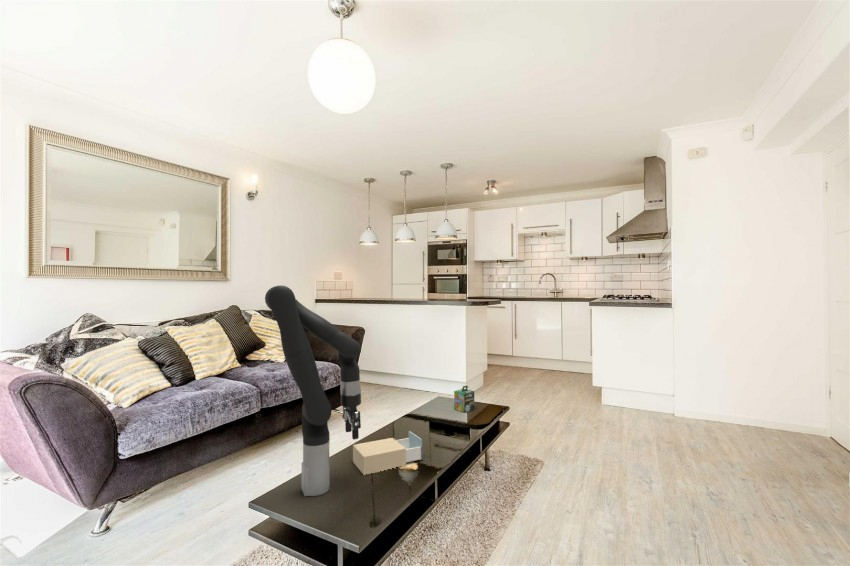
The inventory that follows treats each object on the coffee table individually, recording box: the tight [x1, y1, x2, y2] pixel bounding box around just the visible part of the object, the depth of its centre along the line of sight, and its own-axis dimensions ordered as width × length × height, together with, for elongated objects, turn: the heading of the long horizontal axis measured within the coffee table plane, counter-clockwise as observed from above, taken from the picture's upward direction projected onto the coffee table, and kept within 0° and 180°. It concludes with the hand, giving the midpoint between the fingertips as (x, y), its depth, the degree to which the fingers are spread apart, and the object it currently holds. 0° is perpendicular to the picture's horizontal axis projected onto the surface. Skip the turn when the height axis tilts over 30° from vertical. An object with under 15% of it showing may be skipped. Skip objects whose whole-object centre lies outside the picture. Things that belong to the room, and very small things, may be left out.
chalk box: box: [453, 384, 475, 413], centre depth 240 cm, size 9×9×15 cm
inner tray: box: [395, 430, 423, 463], centre depth 165 cm, size 25×12×8 cm, turn 118°
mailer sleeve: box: [352, 437, 407, 476], centre depth 163 cm, size 18×14×7 cm
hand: (352, 435), depth 148 cm, fingers open, 8 cm apart
